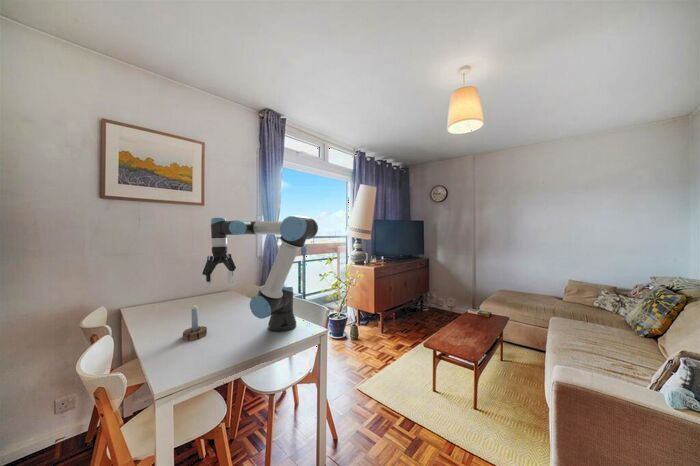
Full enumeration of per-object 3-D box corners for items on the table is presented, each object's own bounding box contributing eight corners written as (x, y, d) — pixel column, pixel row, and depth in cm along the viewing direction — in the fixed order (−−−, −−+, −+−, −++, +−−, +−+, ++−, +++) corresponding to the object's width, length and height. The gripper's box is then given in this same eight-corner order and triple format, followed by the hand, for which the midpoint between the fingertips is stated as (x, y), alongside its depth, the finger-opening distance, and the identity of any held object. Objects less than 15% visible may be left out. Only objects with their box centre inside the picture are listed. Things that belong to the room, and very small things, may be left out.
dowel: (199, 335, 126) (199, 305, 126) (194, 337, 123) (194, 306, 123) (195, 334, 127) (195, 304, 127) (190, 336, 124) (190, 306, 124)
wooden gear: (211, 333, 128) (211, 327, 128) (192, 341, 118) (192, 335, 118) (197, 330, 132) (197, 325, 131) (178, 338, 122) (178, 332, 122)
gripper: (231, 244, 148) (232, 280, 148) (193, 247, 124) (194, 289, 124) (241, 244, 145) (242, 280, 145) (204, 247, 122) (206, 290, 122)
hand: (220, 285), depth 135 cm, fingers open, 13 cm apart
